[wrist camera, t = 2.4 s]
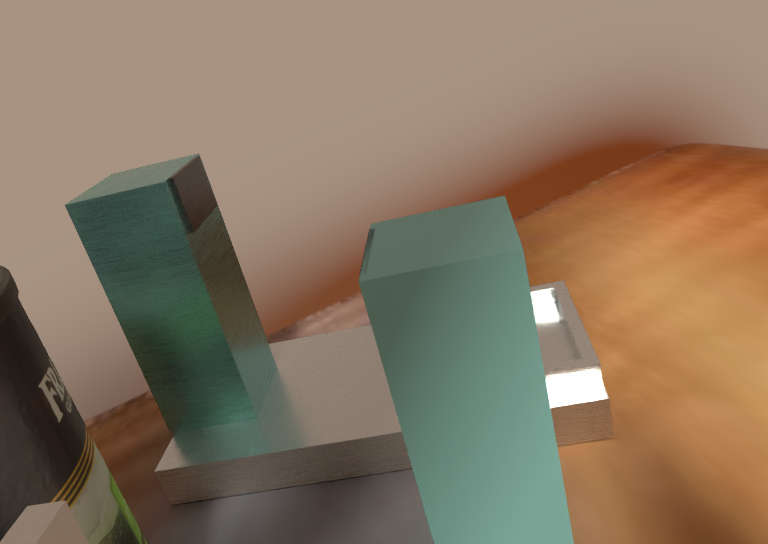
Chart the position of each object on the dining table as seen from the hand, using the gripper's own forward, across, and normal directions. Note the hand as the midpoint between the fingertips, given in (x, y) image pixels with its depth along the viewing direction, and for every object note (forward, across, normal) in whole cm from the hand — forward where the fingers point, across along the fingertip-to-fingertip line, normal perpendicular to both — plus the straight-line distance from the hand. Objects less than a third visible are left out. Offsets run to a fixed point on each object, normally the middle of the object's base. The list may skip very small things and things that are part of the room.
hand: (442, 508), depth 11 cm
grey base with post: (+19, -5, -11) cm, 22 cm away
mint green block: (+10, 0, -11) cm, 15 cm away
